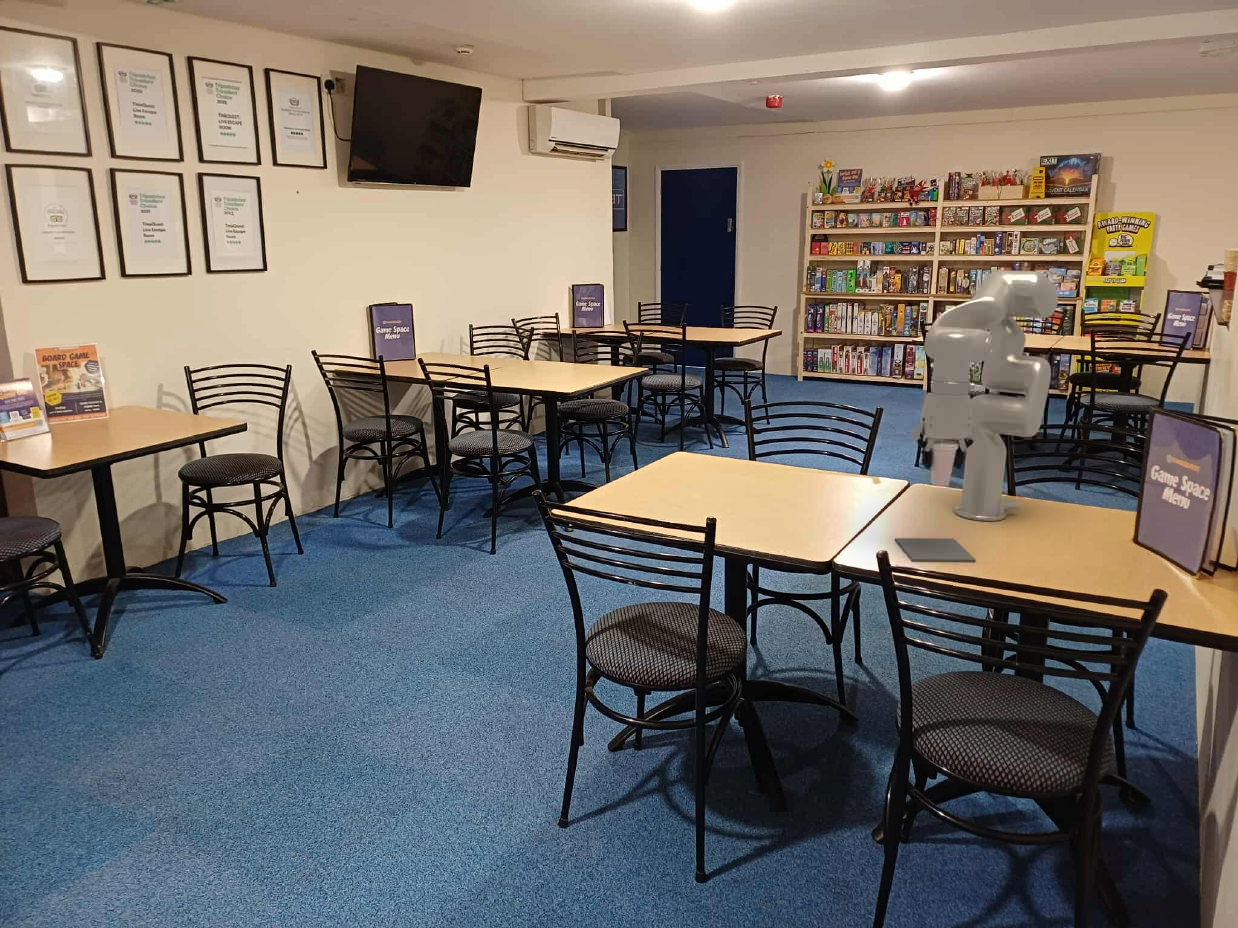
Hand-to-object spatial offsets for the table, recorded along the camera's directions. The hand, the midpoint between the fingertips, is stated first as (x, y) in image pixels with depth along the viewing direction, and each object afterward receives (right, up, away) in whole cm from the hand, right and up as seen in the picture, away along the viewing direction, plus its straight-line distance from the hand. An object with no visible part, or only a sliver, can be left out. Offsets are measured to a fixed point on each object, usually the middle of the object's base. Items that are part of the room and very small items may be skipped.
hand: (941, 466), depth 195 cm
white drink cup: (0, -4, +1) cm, 4 cm away
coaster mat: (0, -20, +5) cm, 20 cm away
